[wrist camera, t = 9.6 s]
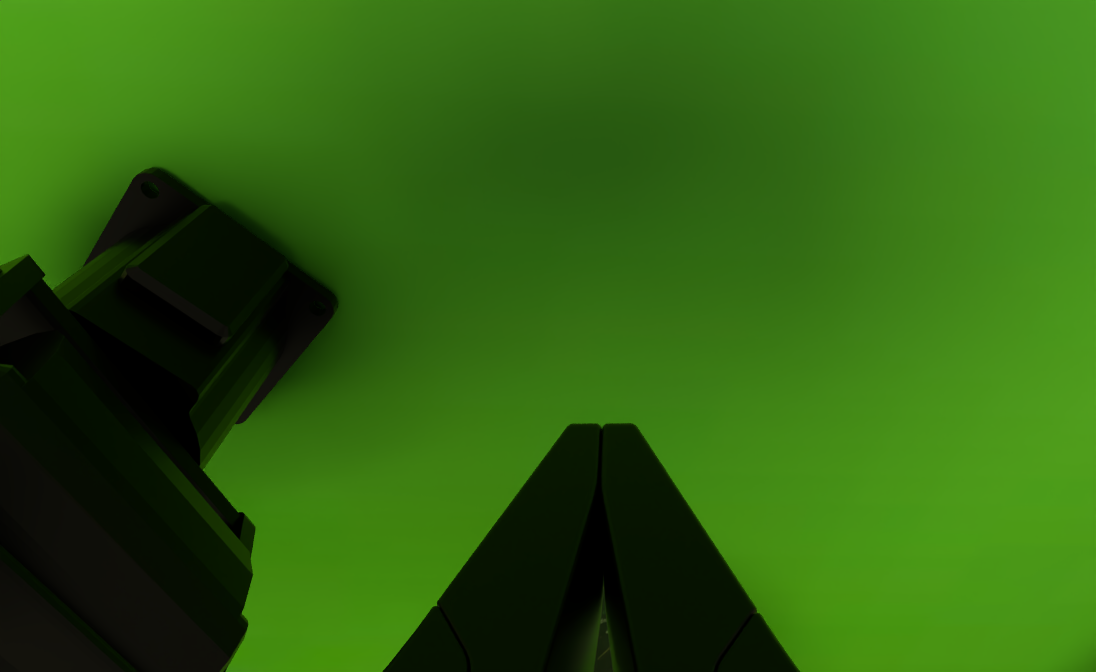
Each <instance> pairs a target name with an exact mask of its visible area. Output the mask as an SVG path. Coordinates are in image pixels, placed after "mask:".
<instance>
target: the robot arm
mask: <svg viewBox="0 0 1096 672" xmlns="http://www.w3.org/2000/svg"><path fill="white" fill-rule="evenodd" d="M148 182H152V183H154V184H155V185H156V186H157V187H158V190H159V193H156V192H154V191H153V190H152V189H151V188H150V186H149V183H148ZM44 276H45V274H44V272H43V271H42V270H41V269H40V268H39V266H38V265H37V264H36V263H35V262H34V260H33V259H32V258H31V257H30V256H29V254H27V255H25V256H22V257H20V258H18V259H15V260H13V261H11V262H8V263H6V264H4V265H1V266H0V672H225V671H226V669H227V667H228V665H229V664H230V662H231V660H232V658H233V657H234V655H235V653H236V652H237V650H238V648H239V646H240V645H241V643H242V641H243V640H244V637H245V634H246V631H247V627H248V621H247V619H246V618H245V617H244V616H243V615H242V611H243V609H244V605H245V602H246V598H247V594H248V591H249V587H250V583H251V580H252V576H253V573H252V566H251V553H252V547H253V541H254V535H255V526H254V525H253V523H252V522H251V521H250V520H249V519H248V517H247V516H246V515H245V514H244V513H243V512H239V513H238V512H237V511H236V510H235V508H234V507H233V506H232V505H231V504H230V502H229V501H228V500H227V499H226V498H225V496H224V495H223V494H222V493H221V492H220V490H219V489H218V488H217V487H216V486H215V484H214V483H213V482H212V481H211V480H210V478H209V477H208V476H207V475H206V474H205V473H204V471H203V469H204V467H205V466H206V465H207V463H208V462H209V460H210V459H211V457H212V456H213V454H214V453H215V452H216V450H217V449H218V447H219V446H220V444H221V443H222V441H223V440H224V438H225V437H226V436H227V434H228V433H229V431H230V430H231V428H232V427H233V425H234V424H240V423H243V422H244V421H246V419H247V418H248V417H249V416H250V415H251V413H252V412H253V411H254V410H255V409H256V407H257V406H258V405H259V404H260V403H261V402H262V400H263V399H264V398H265V397H266V396H267V394H268V393H269V392H270V391H271V390H272V388H273V387H274V386H275V385H276V384H277V382H278V381H279V380H280V379H281V378H282V377H283V375H284V374H285V373H286V372H287V371H288V369H289V368H290V367H291V366H292V365H293V363H294V362H295V361H296V360H297V359H298V358H299V356H300V355H301V354H302V353H303V352H304V350H305V349H306V348H307V347H308V346H309V344H310V343H311V342H312V341H313V340H314V338H315V337H316V336H317V335H318V334H319V333H320V331H321V330H322V329H323V328H324V327H325V325H326V324H327V323H328V322H329V321H330V319H331V318H332V317H333V315H334V314H335V312H336V310H337V308H338V301H337V299H336V297H335V295H334V294H333V293H332V292H331V291H329V290H328V289H326V288H325V287H324V286H322V285H321V284H320V283H318V282H317V281H315V280H314V279H313V278H311V277H310V276H308V275H307V274H306V273H304V272H303V271H301V270H300V269H299V268H297V267H296V266H295V265H293V264H292V263H290V262H289V261H288V260H286V258H285V257H284V256H283V255H282V254H280V253H279V252H278V251H276V250H275V249H273V248H272V247H271V246H269V245H268V244H266V243H265V242H264V241H262V240H261V239H259V238H258V237H257V236H255V235H254V234H253V233H251V232H250V231H248V230H247V229H246V228H244V227H243V226H241V225H240V224H239V223H237V222H236V221H235V220H233V219H232V218H230V217H229V216H228V215H226V214H225V213H223V212H222V211H221V210H219V209H218V208H216V207H215V206H213V205H210V204H208V203H207V202H206V201H204V200H203V199H201V198H200V197H199V196H197V195H196V194H194V193H193V192H192V191H190V190H189V189H187V188H186V187H185V186H183V185H182V184H181V183H179V182H178V181H176V180H175V179H174V178H172V177H171V176H169V175H168V174H167V173H165V172H163V171H161V170H160V169H156V168H149V169H145V170H144V171H142V172H141V173H139V174H137V175H136V176H135V177H134V178H133V180H132V182H131V184H130V185H129V187H128V189H127V191H126V192H125V194H124V196H123V198H122V199H121V201H120V203H119V205H118V206H117V208H116V210H115V212H114V213H113V215H112V217H111V219H110V220H109V222H108V224H107V226H106V227H105V229H104V231H103V233H102V234H101V236H100V238H99V240H98V241H97V243H96V245H95V247H94V248H93V250H92V252H91V253H90V255H89V257H88V259H87V260H86V262H85V264H84V266H83V267H82V268H81V269H80V270H79V271H77V272H76V273H75V274H73V275H72V276H71V277H69V278H68V279H67V280H65V281H64V282H62V283H61V284H60V285H58V286H57V287H56V288H54V289H53V290H51V289H50V287H49V286H48V285H47V284H46V283H45V282H44V280H43V279H42V278H43V277H44ZM314 301H319V302H321V303H322V304H323V305H324V306H325V308H326V309H320V308H318V307H317V306H316V305H315V304H314ZM603 583H604V596H605V608H606V618H607V626H608V634H609V642H610V651H611V659H612V667H613V672H800V671H799V670H798V668H797V667H796V665H795V664H794V663H793V661H792V660H791V658H790V657H789V656H788V654H787V653H786V651H785V650H784V648H783V647H782V646H781V644H780V643H779V641H778V640H777V638H776V637H775V635H774V634H773V632H772V631H771V629H770V628H769V626H768V625H767V623H766V622H765V620H764V619H763V617H762V615H761V614H759V613H757V609H756V607H755V605H754V604H753V602H752V601H751V599H750V598H749V596H748V595H747V593H746V592H745V590H744V589H743V587H742V586H741V584H740V583H739V581H738V580H737V578H736V576H735V575H734V573H733V572H732V570H731V569H730V567H729V566H728V564H727V563H726V561H725V560H724V558H723V557H722V555H721V554H720V552H719V551H718V549H717V548H716V546H715V545H714V543H713V541H712V540H711V538H710V537H709V535H708V534H707V532H706V531H705V529H704V528H703V526H702V525H701V523H700V522H699V520H698V519H697V517H696V516H695V514H694V513H693V511H692V510H691V508H690V506H689V505H688V503H687V502H686V500H685V499H684V497H683V496H682V494H681V493H680V491H679V490H678V488H677V487H676V485H675V484H674V482H673V481H672V479H671V478H670V476H669V475H668V473H667V471H666V470H665V468H664V467H663V465H662V464H661V462H660V461H659V459H658V458H657V456H656V455H655V453H654V452H653V450H652V449H651V447H650V446H649V444H648V443H647V441H646V440H645V438H644V436H643V435H642V433H641V432H640V430H639V429H638V428H637V426H636V425H634V424H631V423H608V424H605V425H604V426H603V428H601V426H600V425H599V424H596V423H595V424H570V425H569V426H567V428H566V429H565V430H564V432H563V433H562V434H561V436H560V437H559V438H558V440H557V441H556V442H555V444H554V445H553V446H552V448H551V449H550V450H549V452H548V453H547V455H546V456H545V457H544V459H543V460H542V461H541V463H540V464H539V465H538V467H537V468H536V469H535V471H534V472H533V473H532V475H531V476H530V477H529V479H528V480H527V481H526V483H525V484H524V485H523V487H522V488H521V490H520V491H519V492H518V494H517V495H516V496H515V498H514V499H513V500H512V502H511V503H510V504H509V506H508V507H507V508H506V510H505V511H504V512H503V514H502V515H501V516H500V518H499V519H498V520H497V522H496V523H495V525H494V526H493V527H492V529H491V530H490V531H489V533H488V534H487V535H486V537H485V538H484V539H483V541H482V542H481V543H480V545H479V546H478V547H477V549H476V550H475V551H474V553H473V554H472V555H471V557H470V558H469V560H468V561H467V562H466V564H465V565H464V566H463V568H462V569H461V570H460V572H459V573H458V574H457V576H456V577H455V578H454V580H453V581H452V582H451V584H450V585H449V586H448V588H447V589H446V590H445V592H444V593H443V595H442V596H441V597H440V599H439V600H438V601H437V606H434V607H433V608H432V609H431V610H430V611H429V613H428V614H427V616H426V617H425V618H424V620H423V621H422V622H421V624H420V625H419V626H418V628H417V629H416V631H415V632H414V633H413V634H412V636H411V637H410V638H409V639H408V641H407V642H406V643H405V644H404V646H403V647H402V648H401V650H400V651H399V652H398V653H397V655H396V656H395V657H394V658H393V660H392V661H391V662H390V663H389V665H388V666H387V667H386V668H385V669H384V670H383V672H594V665H595V658H596V650H597V643H598V636H599V628H600V621H601V612H602V602H603Z"/></svg>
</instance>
